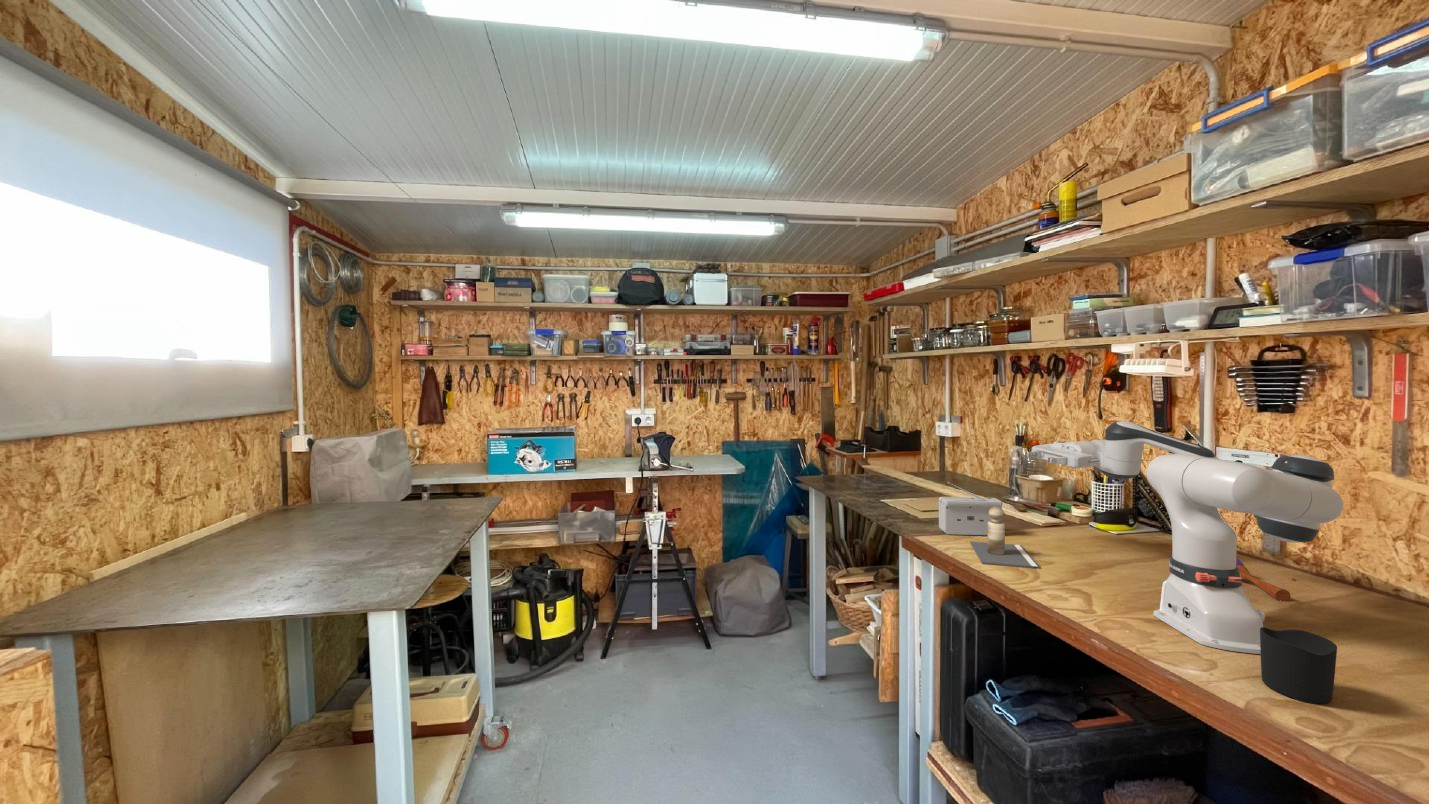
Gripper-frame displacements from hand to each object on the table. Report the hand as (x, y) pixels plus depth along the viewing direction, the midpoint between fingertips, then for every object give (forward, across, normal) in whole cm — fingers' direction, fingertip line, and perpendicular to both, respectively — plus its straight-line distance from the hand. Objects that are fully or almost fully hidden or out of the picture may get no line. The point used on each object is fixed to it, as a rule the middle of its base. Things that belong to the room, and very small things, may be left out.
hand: (1038, 457), depth 173 cm
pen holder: (+12, -79, -27) cm, 85 cm away
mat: (+15, -2, -31) cm, 34 cm away
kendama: (-34, -36, -32) cm, 60 cm away
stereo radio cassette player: (+11, +22, -33) cm, 41 cm away
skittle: (+17, -2, -30) cm, 35 cm away
